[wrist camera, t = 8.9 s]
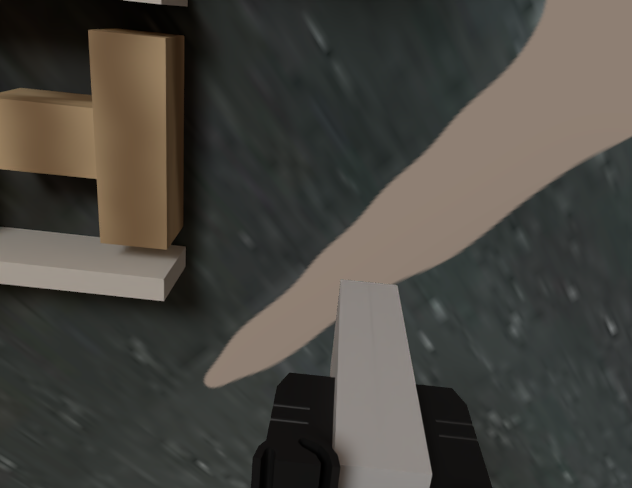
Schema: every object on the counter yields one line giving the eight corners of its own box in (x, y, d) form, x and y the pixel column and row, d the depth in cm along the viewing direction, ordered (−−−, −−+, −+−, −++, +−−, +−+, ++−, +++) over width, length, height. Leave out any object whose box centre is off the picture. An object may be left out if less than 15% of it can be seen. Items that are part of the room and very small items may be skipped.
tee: (184, 35, 32) (165, 37, 28) (183, 226, 36) (166, 249, 33) (13, 17, 32) (-29, 17, 28) (33, 211, 36) (0, 232, 33)
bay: (187, -23, 31) (160, -30, 26) (185, 266, 38) (164, 301, 33) (-78, -52, 31) (-152, -64, 26) (-31, 243, 38) (-84, 274, 33)
